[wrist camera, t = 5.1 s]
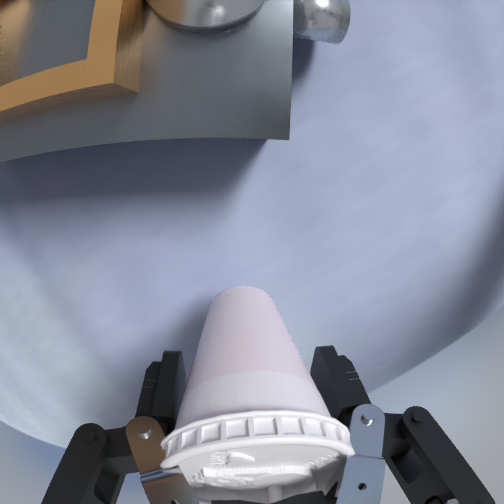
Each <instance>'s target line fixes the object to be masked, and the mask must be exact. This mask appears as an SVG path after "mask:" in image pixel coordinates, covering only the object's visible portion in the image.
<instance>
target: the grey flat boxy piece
mask: <svg viewBox="0 0 504 504" xmlns="http://www.w3.org/2000/svg"><path fill="white" fill-rule="evenodd" d="M349 22H350V5H349V1H348V0H0V163H1V162H5V161H9V160H14V159H18V158H23V157H27V156H32V155H37V154H43V153H48V152H54V151H60V150H66V149H72V148H79V147H86V146H94V145H102V144H111V143H121V142H132V141H145V140H161V139H183V138H254V139H277V140H289V132H290V111H291V86H292V53H293V37H296V38H303V39H310V40H316V41H322V42H327V43H332V44H339V43H340V42H341V41H342V40H343V39H344V37H345V35H346V33H347V30H348V27H349Z"/></svg>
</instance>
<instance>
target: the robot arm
mask: <svg viewBox="0 0 504 504" xmlns="http://www.w3.org/2000/svg"><path fill="white" fill-rule="evenodd" d="M310 375H311V377H312V379H313V381H314V383H315V385H316V387H317V389H318V391H319V393H320V394H321V396H322V399H323V401H324V403H325V405H326V407H327V409H328V411H329V413H330V415H331V417H332V418H335V419H336V420H338V421H339V422H341V423H342V424H343V425H345V426H346V427H347V428H348V431H349V433H350V436H349V437H350V442H351V445H352V448H353V450H354V452H355V454H354V455H346V457H345V458H343V460H342V462H341V463H340V465H339V466H338V468H337V469H336V471H335V472H334V474H333V475H332V477H331V478H330V480H329V481H328V483H327V484H326V486H325V488H324V490H321V491H315V492H310V493H304V494H297V495H294V496H291V497H288V498H286V499H283V500H280V501H277V502H274V503H270V504H380V500H381V493H382V487H383V480H384V473H385V465H386V463H387V465H388V466H389V468H390V470H391V472H392V473H393V475H394V476H395V478H396V480H397V481H398V483H399V485H400V486H401V488H402V489H403V491H404V493H405V494H406V496H407V498H408V500H409V501H410V503H411V504H495V501H494V499H493V498H492V496H491V495H490V494H489V492H488V491H487V489H486V488H485V487H484V485H483V484H482V482H481V481H480V479H479V478H478V477H477V475H476V474H475V473H474V471H473V470H472V468H471V467H470V466H469V464H468V463H467V462H466V460H465V459H464V458H463V456H462V455H461V453H460V452H459V451H458V449H457V448H456V447H455V445H454V444H453V443H452V442H451V440H450V439H449V438H448V436H447V435H446V434H445V432H444V431H443V430H442V428H441V427H440V426H439V425H438V423H437V422H436V421H435V420H434V418H433V417H432V416H431V414H430V413H429V412H428V411H427V410H426V409H424V408H422V407H419V406H413V407H410V408H408V409H407V410H406V411H405V412H404V414H389V413H384V412H382V410H381V409H380V408H379V407H377V406H375V405H372V404H371V402H370V400H369V398H368V395H367V393H366V391H365V389H364V387H363V385H362V383H361V380H360V379H359V376H358V374H357V372H356V370H355V368H354V366H353V364H352V362H351V361H350V360H349V359H348V358H347V357H346V356H344V355H341V356H338V355H337V352H336V350H335V348H334V346H332V345H331V346H320V347H316V349H315V352H314V357H313V362H312V366H311V372H310ZM185 389H186V375H185V369H184V363H183V357H182V352H181V351H164V353H163V358H162V362H152V363H151V365H150V366H149V367H148V368H147V369H146V373H145V377H144V381H143V386H142V390H141V394H140V398H139V403H138V407H137V412H136V415H135V418H134V419H132V420H131V421H130V422H129V423H128V424H127V426H125V427H122V428H117V429H110V430H104V429H103V428H102V427H101V426H99V425H97V424H94V423H87V424H84V425H82V426H80V427H79V428H78V429H77V430H76V431H75V433H74V435H73V437H72V439H71V441H70V443H69V445H68V447H67V449H66V451H65V453H64V455H63V457H62V460H61V461H60V464H59V466H58V468H57V470H56V472H55V474H54V476H53V479H52V480H51V483H50V485H49V487H48V489H47V492H46V494H45V496H44V498H43V501H42V503H41V504H116V502H117V499H118V496H119V493H120V490H121V487H122V484H123V481H124V478H125V475H126V474H128V473H135V472H140V475H141V478H140V480H141V483H142V485H143V488H144V490H145V493H146V495H147V497H148V500H149V502H150V504H199V502H198V500H197V498H196V496H195V495H194V493H193V491H192V489H191V487H190V486H189V484H188V482H187V480H186V478H185V476H184V474H183V472H182V470H181V468H180V467H173V468H171V469H163V468H162V467H161V466H160V464H161V462H162V461H163V460H164V459H165V457H166V449H162V446H161V442H162V440H163V439H164V438H165V437H166V436H168V435H169V434H170V433H171V432H172V431H174V429H175V425H176V421H177V417H178V413H179V409H180V406H181V403H182V400H183V396H184V393H185ZM382 457H383V458H382ZM211 504H265V503H258V502H251V501H244V500H211Z"/></svg>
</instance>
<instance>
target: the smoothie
mask: <svg viewBox="0 0 504 504" xmlns="http://www.w3.org/2000/svg"><path fill="white" fill-rule="evenodd" d="M349 436H350V433H349V431H348V428H347V427H346V426H345V425H343V424H342V423H341V422H339V421H338V420H336V419H335V418H332V417H331V415H330V413H329V411H328V409H327V407H326V405H325V403H324V401H323V399H322V396H321V394H320V393H319V391H318V389H317V387H316V385H315V383H314V381H313V379H312V377H311V375H310V373H309V372H308V370H307V368H306V366H305V364H304V362H303V360H302V358H301V356H300V354H299V352H298V350H297V348H296V346H295V344H294V342H293V340H292V338H291V336H290V334H289V332H288V330H287V328H286V326H285V324H284V322H283V320H282V318H281V316H280V314H279V312H278V310H277V308H276V306H275V304H274V302H273V300H272V299H271V297H270V296H269V295H268V294H267V293H265V292H264V291H262V290H260V289H258V288H255V287H251V286H236V287H232V288H229V289H226V290H224V291H223V292H221V293H220V294H218V295H217V296H216V297H215V298H214V300H213V301H212V303H211V305H210V308H209V311H208V314H207V317H206V321H205V324H204V327H203V331H202V334H201V338H200V341H199V344H198V348H197V351H196V354H195V358H194V361H193V365H192V368H191V372H190V375H189V379H188V382H187V386H186V389H185V393H184V396H183V400H182V403H181V406H180V409H179V413H178V417H177V421H176V425H175V429H174V431H172V432H171V433H170V434H169V435H168V436H166V437H165V438H164V439H163V440H162V442H161V446H162V449H166V457H165V459H164V460H163V461H162V462H161V464H160V466H161V467H162V468H163V469H171V468H173V467H180V468H181V470H182V472H183V474H184V476H185V478H186V480H187V482H188V484H189V486H190V487H191V489H192V491H193V493H194V495H195V496H196V498H197V500H198V501H200V502H204V503H208V504H211V500H244V501H251V502H258V503H265V504H270V503H274V502H277V501H280V500H283V499H286V498H288V497H291V496H294V495H297V494H304V493H310V492H315V491H321V490H324V488H325V486H326V484H327V483H328V481H329V480H330V478H331V477H332V475H333V474H334V472H335V471H336V469H337V468H338V466H339V465H340V463H341V462H342V460H343V458H345V457H346V455H354V454H355V452H354V450H353V448H352V445H351V442H350V437H349Z"/></svg>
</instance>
